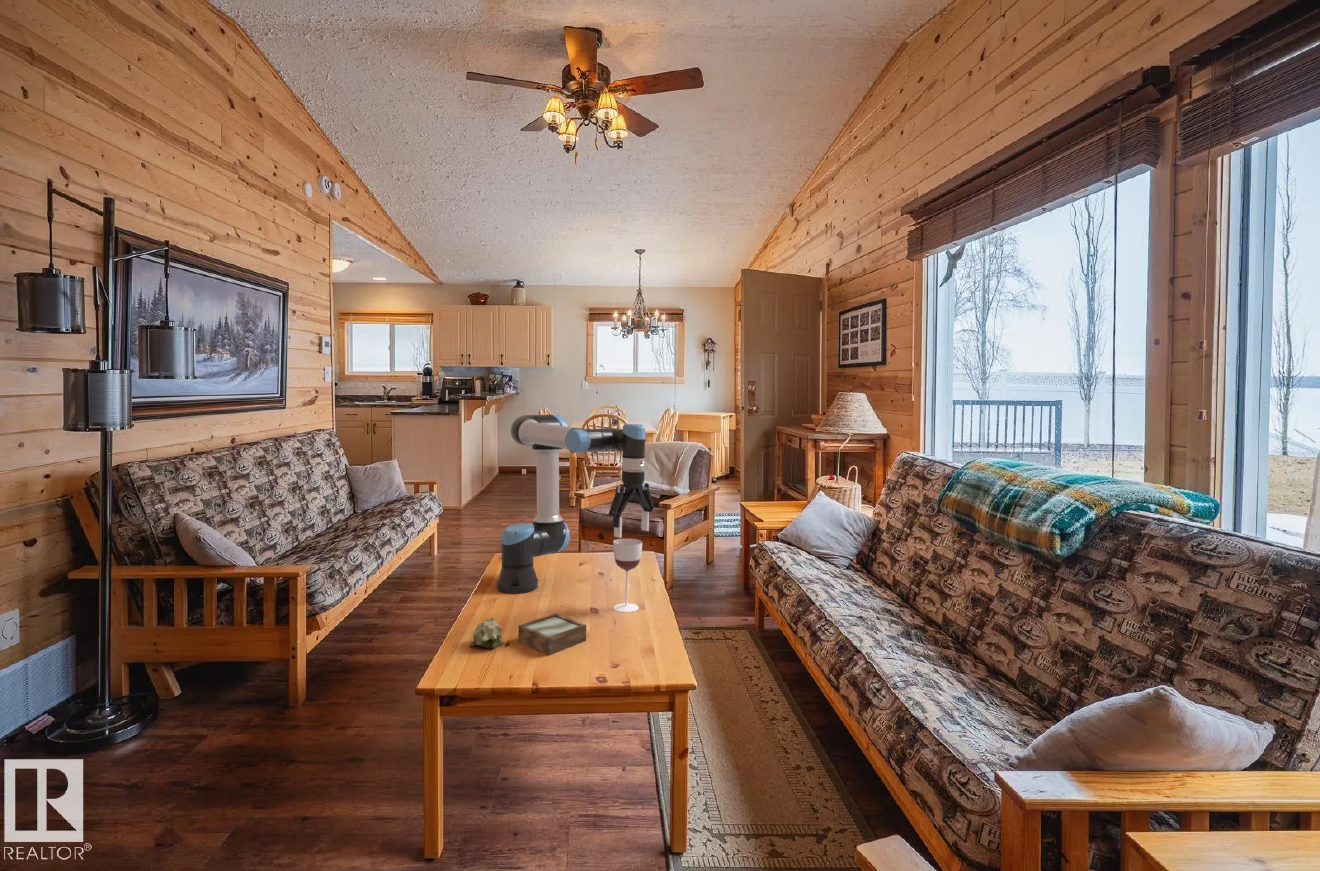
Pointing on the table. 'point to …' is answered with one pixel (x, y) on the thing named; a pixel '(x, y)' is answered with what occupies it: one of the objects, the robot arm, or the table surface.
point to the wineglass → (627, 565)
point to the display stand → (552, 633)
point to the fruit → (488, 634)
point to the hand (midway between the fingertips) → (631, 533)
